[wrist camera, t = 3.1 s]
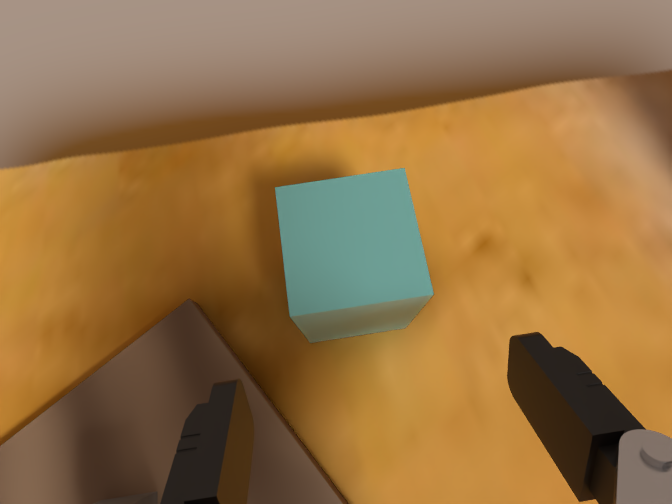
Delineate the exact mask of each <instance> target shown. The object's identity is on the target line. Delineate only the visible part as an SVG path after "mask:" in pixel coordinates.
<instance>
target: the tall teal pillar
mask: <svg viewBox="0 0 672 504" xmlns="http://www.w3.org/2000/svg"><path fill="white" fill-rule="evenodd" d="M275 193H276V201H277V210H278V219H279V228H280V236H281V245H282V254H283V263H284V271H285V280H286V289H287V298H288V306H289V315H290V318H291V319H292V320H293V322H294V323H295V324H296V325H297V327H298V328H299V329H300V331H301V332H302V333H303V334H304V336H305V337H306V338H307V340H308V341H309V342H310V343H314V342H320V341H327V340H333V339H339V338H346V337H352V336H358V335H365V334H371V333H378V332H384V331H390V330H397V329H403V328H406V327H407V326H408V325H409V324H410V322H411V321H412V320H413V319H414V318H415V316H416V315H417V314H418V313H419V312H420V310H421V309H422V308H423V307H424V306H425V304H426V303H427V302H428V301H429V300H430V298H431V297H432V296H433V295H434V293H433V289H432V284H431V280H430V276H429V271H428V267H427V263H426V258H425V254H424V250H423V246H422V241H421V237H420V233H419V228H418V224H417V220H416V215H415V211H414V207H413V202H412V198H411V194H410V190H409V185H408V181H407V177H406V172H405V168H401V169H394V170H388V171H381V172H374V173H368V174H361V175H354V176H347V177H341V178H334V179H327V180H321V181H314V182H307V183H301V184H294V185H287V186H281V187H275Z"/></svg>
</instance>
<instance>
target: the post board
mask: <svg viewBox="0 0 672 504" xmlns="http://www.w3.org/2000/svg"><path fill="white" fill-rule="evenodd" d="M235 379H241V381H242V383H243V386H244V389H245V393H246V396H247V399H248V403H249V406H250V409H251V413H252V416H253V421H254V445H253V454H252V463H251V472H250V481H249V491H248V500H247V504H348V503H347V502H346V500H345V499H344V498H343V496H342V495H341V494H340V492H339V491H338V490H337V489H336V487H335V486H334V485H333V483H332V482H331V481H330V479H329V478H328V477H327V475H326V474H325V473H324V471H323V470H322V469H321V467H320V466H319V465H318V463H317V462H316V461H315V459H314V458H313V457H312V455H311V454H310V453H309V451H308V450H307V449H306V447H305V446H304V445H303V443H302V442H301V441H300V439H299V438H298V437H297V435H296V434H295V433H294V431H293V430H292V429H291V427H290V426H289V425H288V423H287V422H286V421H285V419H284V418H283V417H282V415H281V414H280V413H279V411H278V410H277V409H276V408H275V406H274V405H273V404H272V402H271V401H270V400H269V398H268V397H267V396H266V394H265V393H264V392H263V390H262V389H261V388H260V386H259V385H258V384H257V382H256V381H255V380H254V378H253V377H252V376H251V374H250V373H249V372H248V370H247V369H246V368H245V366H244V365H243V364H242V362H241V361H240V360H239V358H238V357H237V356H236V354H235V353H234V352H233V350H232V349H231V348H230V346H229V345H228V344H227V342H226V341H225V340H224V338H223V337H222V336H221V334H220V333H219V332H218V331H217V329H216V328H215V327H214V325H213V324H212V323H211V321H210V320H209V319H208V317H207V316H206V315H205V313H204V312H203V311H202V309H201V308H200V307H199V305H198V304H197V303H196V302H194V301H192V300H191V299H188V300H187V301H185V302H184V303H183V304H182V305H180V306H179V307H178V308H176V309H175V310H174V311H173V312H171V313H170V314H169V315H168V316H166V317H165V318H164V319H162V320H161V321H160V322H159V323H157V324H156V325H155V326H153V327H152V328H151V329H150V330H148V331H147V332H146V333H144V334H143V335H142V336H141V337H139V338H138V339H137V340H135V341H134V342H133V343H132V344H130V345H129V346H128V347H127V348H125V349H124V350H123V351H121V352H120V353H119V354H118V355H116V356H115V357H114V358H112V359H111V360H110V361H109V362H107V363H106V364H105V365H103V366H102V367H101V368H100V369H98V370H97V371H96V372H94V373H93V374H92V375H91V376H89V377H88V378H87V379H86V380H84V381H83V382H82V383H80V384H79V385H78V386H77V387H75V388H74V389H73V390H71V391H70V392H69V393H68V394H66V395H65V396H64V397H62V398H61V399H60V400H59V401H57V402H56V403H55V404H53V405H52V406H51V407H50V408H48V409H47V410H46V411H45V412H43V413H42V414H41V415H39V416H38V417H37V418H36V419H34V420H33V421H32V422H30V423H29V424H28V425H27V426H25V427H24V428H23V429H21V430H20V431H19V432H18V433H16V434H15V435H14V436H12V437H11V438H10V439H9V440H7V441H6V442H5V443H4V444H2V445H1V446H0V504H160V502H161V499H162V496H163V492H164V489H165V486H166V483H167V479H168V476H169V473H170V469H171V466H172V463H173V459H174V456H175V454H176V449H177V446H178V443H179V440H180V439H181V437H180V436H181V433H182V430H183V426H184V423H185V420H186V418H187V417H188V416H189V414H190V413H191V412H192V410H193V409H194V408H195V406H196V405H197V404H202V403H208V402H209V398H210V394H211V390H212V386H213V384H214V383H217V382H223V381H229V380H235Z"/></svg>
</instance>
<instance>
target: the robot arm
mask: <svg viewBox="0 0 672 504" xmlns="http://www.w3.org/2000/svg"><path fill="white" fill-rule="evenodd" d="M507 378H508V384H509V388H510V391H511V393H512V395H513V397H514V399H515V400H516V402H517V404H518V405H519V407H520V408H521V410H522V412H523V413H524V415H525V416H526V418H527V419H528V421H529V423H530V424H531V426H532V427H533V429H534V431H535V432H536V434H537V435H538V437H539V439H540V440H541V442H542V443H543V445H544V446H545V448H546V450H547V451H548V453H549V454H550V456H551V458H552V459H553V461H554V462H555V464H556V466H557V467H558V469H559V470H560V472H561V474H562V475H563V477H564V478H565V480H566V481H567V483H568V485H569V486H570V488H571V489H572V491H573V493H574V494H575V496H576V497H577V499H578V501H579V502H581V501H587V500H593V499H596V500H597V502H598V503H599V504H672V439H671V438H670V437H668V436H666V435H663V434H661V433H658V432H655V431H651V430H646V429H645V428H644V427H643V426H642V425H641V424H640V423H639V422H638V420H637V419H636V418H635V417H634V416H633V415H632V414H631V413H630V412H629V411H628V410H627V409H626V408H625V406H624V405H623V404H622V403H621V402H620V401H619V400H618V399H617V398H616V397H615V396H614V395H613V393H612V392H611V391H610V390H609V389H608V388H607V387H606V386H605V385H603V384H602V382H601V380H600V379H599V378H598V377H597V376H596V375H595V374H592V371H591V370H590V369H589V368H588V366H587V365H586V364H585V363H584V362H583V361H582V360H581V359H580V358H579V357H578V356H576V355H574V354H573V353H571V352H569V351H568V350H566V349H564V348H563V347H555V348H553V347H552V346H551V344H550V343H549V342H548V341H547V340H546V339H545V338H544V336H543V335H542V334H540V333H539V332H534V333H528V334H522V335H515V336H512V337H511V338H510V343H509V358H508V372H507ZM180 437H181V439H180V440H179V443H178V446H177V449H176V454H175V456H174V459H173V463H172V466H171V469H170V473H169V476H168V479H167V483H166V486H165V489H164V492H163V496H162V499H161V502H160V504H247V500H248V491H249V481H250V472H251V463H252V454H253V445H254V421H253V416H252V413H251V409H250V406H249V403H248V399H247V396H246V393H245V389H244V386H243V383H242V381H241V379H235V380H229V381H223V382H217V383H214V384H213V386H212V390H211V394H210V398H209V402H208V403H202V404H197V405H196V406H195V408H194V409H193V410H192V412H191V413H190V414H189V416H188V417H187V418H186V420H185V423H184V426H183V430H182V433H181V436H180Z"/></svg>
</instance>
